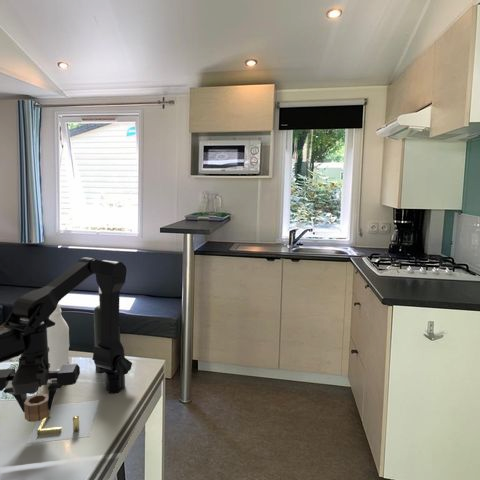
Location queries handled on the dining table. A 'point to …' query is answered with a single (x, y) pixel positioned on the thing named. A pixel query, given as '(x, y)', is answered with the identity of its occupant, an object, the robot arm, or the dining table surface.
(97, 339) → the wine bottle
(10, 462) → the dining table surface
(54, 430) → the bent rail
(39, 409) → the walnut ring
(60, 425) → the slate board
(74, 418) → the end peg
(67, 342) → the water bottle
